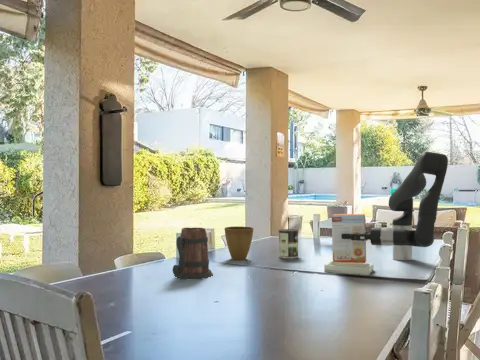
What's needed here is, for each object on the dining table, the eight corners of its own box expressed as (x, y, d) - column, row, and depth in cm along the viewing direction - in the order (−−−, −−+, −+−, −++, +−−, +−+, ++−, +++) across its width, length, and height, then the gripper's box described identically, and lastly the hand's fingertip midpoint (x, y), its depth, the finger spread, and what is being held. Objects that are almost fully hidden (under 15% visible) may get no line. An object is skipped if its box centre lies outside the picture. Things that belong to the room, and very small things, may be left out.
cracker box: (366, 261, 203) (365, 213, 203) (365, 263, 197) (364, 214, 197) (334, 260, 207) (333, 213, 208) (332, 262, 202) (331, 214, 202)
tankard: (186, 270, 207) (186, 225, 207) (220, 273, 200) (220, 227, 200) (156, 280, 186) (156, 231, 186) (193, 284, 179) (193, 232, 179)
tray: (330, 267, 211) (330, 260, 211) (373, 270, 203) (373, 263, 203) (324, 271, 202) (324, 264, 202) (369, 275, 193) (369, 268, 193)
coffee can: (299, 255, 246) (299, 229, 246) (297, 258, 236) (297, 231, 236) (279, 255, 248) (279, 228, 248) (277, 258, 238) (277, 230, 238)
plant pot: (219, 260, 232) (219, 228, 232) (231, 256, 246) (231, 226, 246) (247, 262, 227) (247, 229, 227) (257, 257, 240) (257, 226, 240)
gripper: (385, 226, 203) (346, 225, 210) (380, 229, 190) (339, 228, 197) (385, 243, 203) (347, 242, 210) (380, 247, 190) (339, 245, 197)
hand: (343, 235), depth 203 cm, fingers closed on cracker box, 6 cm apart
